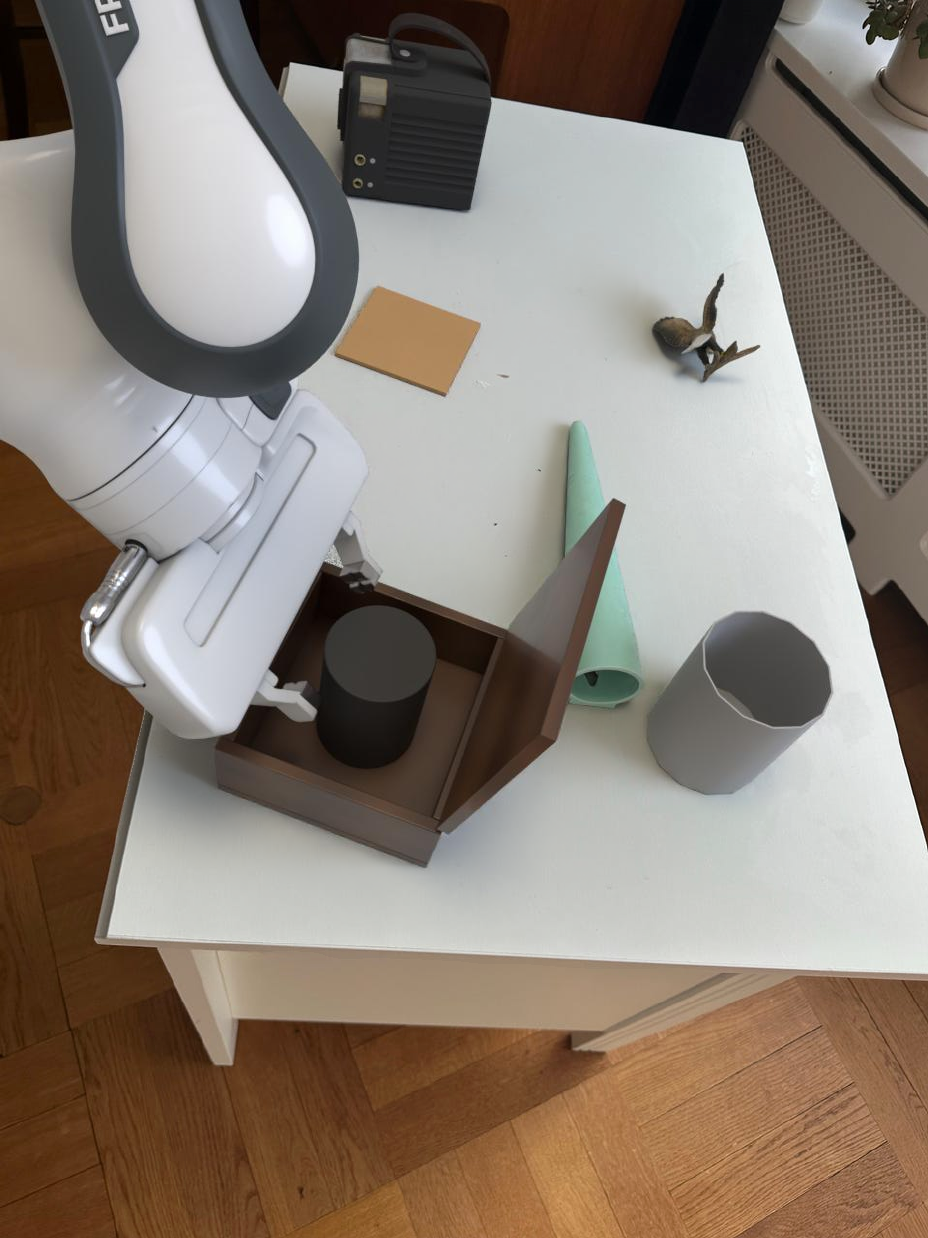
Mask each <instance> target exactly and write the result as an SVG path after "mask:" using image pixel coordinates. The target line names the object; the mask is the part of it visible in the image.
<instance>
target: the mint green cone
mask: <svg viewBox="0 0 928 1238" xmlns="http://www.w3.org/2000/svg"><path fill="white" fill-rule="evenodd" d="M568 438H569V440H568V458H567V459H568V460H567V463H568V464H567V487H566V513H565V515H566V517H565V542H564V544H565V545H564V546H565V547H564V557H565V556H566V555H567V554H568V553H569V551H570V550H571V549H572V548H573V547H574V545H575V544H576V543H577V542H578V540H579V539H580V538H581V537H582V535H583V534H584V533H585V532H586V531H587V529H588V528H589V527H590V526H591V524H592V523H593V522H594V521H595V519H596V518H597V517H598V516H599V515H600V513H601V512H602V511H603V510H604V508H605V507H606V504H605V499H604V495H603V491H602V487H601V483H600V479H599V474H598V470H597V466H596V461H595V458H594V453H593V449H592V446H591V445H592V444H591V441H590V438H589V434H588V431H587V427H586V424H585V423H584V422H583V421H582V420H574V421H573V422H572V423H571V425H570V427H569V437H568ZM627 595H628V594H627V591H626V587H625V583H624V579H623V575H622V571H621V566H620V562H619V557H618V554H617V550H616V545H614V548H613V551H612V555H611V558H610V562H609V565H608V568H607V572H606V575H605V579H604V582H603V585H602V589H601V592H600V595H599V599H598V602H597V606H596V609H595V612H594V616H593V619H592V623H591V626H590V629H589V633H588V636H587V640H586V643H585V646H584V650H583V653H582V657H581V660H580V663H579V667H578V670H577V673H576V677H575V680H574V684H573V687H572V690H571V694H570V697H569V701H568V703H569V704H573V705H580V706H591V707H599V708H608V709H609V708H611V709H613V708H615V707H616V706H617V705H618V704H622V703H625V702H628V701H630V700H633V699H635V698H636V697H638V696H639V695H640V694H641V693H642V692H643V691H644V689H645V678H644V673H643V667H642V662H641V657H640V651H639V645H638V640H637V635H636V634H637V633H636V629H635V626H634V622H633V621H634V620H633V618H632V613H631V609H630V605H629V600H628V596H627ZM590 672H595V673H596V675H597V680H596V681H595V684H594V685H591V684H589V681H588V678H587V677H586V675H585V674H587V673H590Z"/></svg>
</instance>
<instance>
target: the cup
mask: <svg viewBox="0 0 928 1238" xmlns="http://www.w3.org/2000/svg"><path fill="white" fill-rule="evenodd" d="M831 671H832V670H831V666H830V664H829V662H828V661H827V659H826V657H825V656H824V654H823V652H822V651H821V649H820V648H819V646H818V644H817V643H816V641H815V640H814V639H812V638H811V637H810V636H809V635H808V634H807V633H805V632H804V631H803V630H802V629H800V628H799V627H798V626H797V625H796V624H794V622H792V621H791V620H788V619H786V618H782V617H780V616H777V615H775V614H772V613H770V612H768V611H764V610H734V611H733V612H730V613H729V614H726V615H724V616H722V617H721V618H719V619H716V620H715V621H713V622H712V624H711V625H710V627H709V628H708V629H707V631H706V632H705V634H704V635H703V636H702V638H701V639H700V640H699V641H698V643H697V644H696V646H695V647H694V648H693V650H692V651H691V652H690V654H689V655H688V656H687V658H686V659H685V661H684V662H683V663H682V665H681V666H680V667H679V669H678V670H677V672H676V673H675V674H674V675H673V677H672V678H671V679H670V681H668V683H667V685H666V686H665V687H664V689H663V690H662V691H661V693H660V695H659V696H657V699H656V701H655V702H654V704H653V705H652V707H651V709H650V711H649V713H648V715H647V716H646V717H647V718H646V719H647V721H646V723H647V725H646V726H647V729H646V731H647V735H646V737H647V738H646V739H647V743H648V744H649V747H650V749H651V751H652V753H653V755H654V757H655V760H656V762H657V763H658V766H660V768H661V769H663V770H664V771H665V772H666V773H667V774H668V775H669V776H670V777H672V778H673V779H674V780H675V781H676V782H677V783H678V784H679V785H681V786H683V787H686V788H688V789H691V790H693V791H695V792H698V793H701V794H704V795H707V796H712V795H730V794H731V795H732V794H734V793H736V792H737V791H739V790H741V789H742V788H744V787H745V786H747V785H749V784H750V783H752V782H753V781H754V780H755V779H756V778H758V776H760V775H761V774H762V773H763V772H765V770H766V769H767V768H768V767H770V765H771V764H773V762H775V761H776V760H777V759H778V758H779V757H780V756H781V755H782V754H783V753H785V752H786V751H787V750H788V749H789V748H790V747H791V746H792V745H793V744H795V742H796V741H798V739H799V738H801V737H802V736H803V735H804V734H805V733H806V732H807V731H808V730H810V729H811V728H812V726H814V725H815V724H816V723H817V722H818V721H819V720H820V719H821V718H822V717H823V716H824V715H825V713H826V711H827V709H828V707H829V705H830V702H831V700H832V698H833V696H834V686H833V679H832V672H831Z"/></svg>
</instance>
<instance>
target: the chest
mask: <svg viewBox="0 0 928 1238" xmlns="http://www.w3.org/2000/svg"><path fill="white" fill-rule="evenodd" d="M342 568H343V567H340V566H338V565H335V564H333V563H330V562H327V561H325V560H324V562H323V564H322V566H321V568H320V570H319V572H318V574H317V575H316V577H315V579H314V581H313V583H312V585H311V587H310V589H309V591H308V593H307V595H306V597H305V599H304V601H303V603H302V604H301V606H300V608H299V610H298V612H297V614H296V616H295V618H294V620H293V622H292V624H291V626H290V628H289V630H288V631H287V633H286V635H285V637H284V639H283V641H282V643H281V645H280V647H279V649H278V651H277V653H276V655H275V657H274V658H273V660H272V662H271V664H270V666H269V668H268V669H269V670H270V671H271V672H272V673H273V674H274V675H275V676H277V677H278V682H277V684H276V686H273V687H274V688H276V689H283V687H284V685H285V684H286V683H294V684H296V683H297V682H300V681H308V682H309V683H310V684H311V685H312V686H313V687H314V688H315V691H316V692H319V689H320V680H321V671H322V661H323V652H324V644H325V640H326V637H327V634H328V632H329V631H330V629H331V627H332V626H333V625H334V624H335V622H336V621H338V620H339V619H340V618H341V617H342V616H344V615H345V614H347V613H349V612H350V611H352V610H355V609H358V608H361V607H365V606H376V605H380V606H389V607H393V608H397V609H400V610H402V611H404V612H407V613H408V614H410V615H412V616H413V617H415V618H416V619H417V620H419V621H420V622H421V623H422V624H423V625H424V627H425V628H426V629H427V630H428V632H429V633H430V635H431V637H432V639H433V641H434V644H435V648H436V666H435V670H434V673H433V676H432V680H431V683H430V686H429V689H428V693H427V696H426V699H425V702H424V706H423V709H422V712H421V715H420V719H419V722H418V725H417V728H416V732H415V735H414V738H413V741H412V743H411V745H410V746H409V748H408V749H407V751H406V752H405V753H404V754H403V755H402V756H401V757H400V758H398V759H397V760H395V761H394V762H392V763H390V764H388V765H385V766H382V767H377V768H358V767H353V766H350V765H347V764H345V763H343V762H341V761H339V760H338V759H336V758H335V757H334V756H332V755H331V754H330V753H329V752H328V751H327V750H326V748H325V747H324V746H323V744H322V742H321V740H320V738H319V735H318V732H317V727H316V718H317V713H316V716H315V718H314V720H313V721H308V722H297V721H294V720H292V719H290V718H289V717H288V716H287V715H286V714H284V713H283V712H282V711H281V710H280V709H279V708H277V707H276V706H262V705H252V704H250V705H249V707H248V709H247V711H246V713H245V715H244V716H243V718H242V720H241V722H240V724H239V726H238V727H237V729H236V730H235V731H233V732H232V733H229V734H225V735H221V736H219V737H218V740H217V742H216V743H215V746H214V747H213V751H214V761H215V770H216V772H215V773H216V782H217V789H218V790H222V791H224V792H227V793H229V794H232V795H234V796H237V797H239V798H243V799H245V800H247V801H250V802H252V803H255V804H258V805H260V806H263V807H266V808H269V809H271V810H273V811H276V812H278V813H282V814H284V815H286V816H289V817H291V818H294V819H297V820H299V821H302V822H305V823H307V824H310V825H313V826H315V827H318V828H321V829H323V830H326V831H328V832H330V833H333V834H335V835H339V836H341V837H344V838H346V839H349V840H352V841H354V842H357V843H360V844H362V845H365V846H367V847H370V848H373V849H375V850H378V851H381V852H383V853H386V854H388V855H391V856H393V857H396V858H399V859H402V860H404V861H407V862H410V863H412V864H414V865H417V866H419V867H422V868H424V869H425V868H428V865H429V863H430V861H431V859H432V857H433V854H434V852H435V850H436V847H437V845H438V843H439V841H440V839H441V837H442V834H443V832H442V831H440V830H437V826H438V823H439V820H440V818H441V815H442V812H443V809H444V806H445V804H446V801H447V798H448V795H449V792H450V790H451V787H452V784H453V781H454V779H455V776H456V773H457V770H458V767H459V765H460V762H461V759H462V756H463V753H464V751H465V748H466V745H467V742H468V739H469V737H470V734H471V731H472V728H473V726H474V723H475V720H476V717H477V714H478V712H479V709H480V706H481V703H482V700H483V698H484V695H485V692H486V689H487V686H488V684H489V681H490V678H491V675H492V673H493V670H494V667H495V664H496V661H497V659H498V656H499V653H500V650H501V647H502V645H503V642H504V639H505V636H506V633H507V631H508V629H506V628H503V627H501V626H498V625H495V624H493V623H490V622H488V621H484V620H483V619H480V618H477V617H474V616H472V615H468V614H466V613H463V612H460V611H458V610H456V609H453V608H450V607H447V606H445V605H442V604H441V603H436V602H434V601H431V600H428V599H426V598H424V597H421V596H418V595H416V594H413V593H410V592H407V591H405V590H402V589H399V588H396V587H394V586H391V585H388V584H385V583H383V582H380V581H378V583H377V585H376V587H375V589H374V591H370V592H369V591H366V592H365V593H357V592H355V591H353V590H352V589H351V588H350V586H349V583H345V582H344V581H343V580H342V579H341V578H340V577H339V575H340V573H341V571H342Z"/></svg>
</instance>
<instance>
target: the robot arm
mask: <svg viewBox="0 0 928 1238" xmlns="http://www.w3.org/2000/svg"><path fill="white" fill-rule="evenodd" d="M34 2H35V4H36V8H37V10H38V14H39V16H40V18H41V22H42V24H43V27H44V30H45V33H46V35H47V38H48V41H49V43H50V46H51V47H50V48H51V50H52V53H53V57H54V58H55V62H56V65H57V69H58V71H59V75H60V78H61V82H62V86H63V89H64V93H65V97H66V101H67V105H68V110H69V115H70V120H71V121H70V122H71V126H72V127H71V129H68V130H63V131H58V132H54V133H50V134H44V135H40V136H39V135H38V136H31V137H25V138H18V139H17V138H16V139H10V140H0V440H1V441H2V442H5V443H7V444H8V445H11V446H12V447H14V448H16V449H17V450H18V451H20V452H21V453H23V454H24V455H25V456H26V457H27V458H29V459H30V460H31V461H32V462H33V463H34V465H36V467H37V468H38V469H39V470H40V472H41V473H42V474H43V476H44V477H45V479H46V480H47V482H48V484H49V485H50V487H51V489H53V491H54V492H55V493H56V494H57V496H58V497H60V498H61V499H62V500H63V501H64V502H65V503H66V504H67V505H69V506H70V507H71V508H72V509H73V510H74V511H75V512H76V513H78V514H79V515H80V516H81V517H82V518H83V519H85V520H86V521H87V522H88V523H90V525H91V526H92V527H94V528H95V529H96V530H97V531H98V532H100V534H101V535H102V536H103V537H104V538H106V539H107V540H108V541H109V542H110V543H112V545H114V546H115V547H116V548H118V549H119V550H120V551H119V554H118V555H117V556H116V558H115V559H114V561H113V562H112V564H111V565H110V567H109V568H108V570H107V573H106V574H105V577H104V579H103V580H102V582H101V583H100V586H98V588H97V590H96V591H94V592H92V594H91V595H90V596H88V597H89V598H88V599H87V600H86V602H85V603H84V605H83V606H82V609H81V612H80V615H79V618H80V620H81V621H82V627H81V632H80V642H81V644H80V645H81V647H82V655H83V657H84V658H85V659H86V661H87V663H89V664H90V665H91V666H92V667H94V669H96V671H99V672H100V673H101V674H102V675H103V676H104V677H106V678H107V679H109V680H110V681H111V682H113V683H115V684H117V685H118V686H120V687H123V688H125V689H126V690H127V691H128V692H129V693H130V694H131V696H132V697H133V698H134V699H135V700H136V701H137V702H138V703H139V704H140V705H141V706H142V708H144V710H146V711H147V712H148V713H149V714H150V715H151V716H152V717H153V718H154V719H156V720H157V722H159V723H160V724H161V725H162V726H164V728H166V729H167V730H168V731H169V732H171V733H172V734H173V735H175V736H176V737H179V738H181V739H187V740H199V739H200V740H201V739H208V738H209V739H210V738H216V737H221V735H225V734H229V733H232V732H233V731H235V730H236V729H237V727H238V726H239V724H240V722H241V720H242V718H243V716H244V715H245V713H246V711H247V709H248V707H249V705H250V704H252V705H262V706H276V707H277V708H279V709H280V710H281V711H282V712H283V713H284V714H286V715H287V716H288V717H289V718H290V719H292V720H294V721H297V722H308V721H313V720H314V718H315V716H316V713H317V712H318V710H319V707H320V705H321V703H322V701H323V695H322V694H321V693H320V692H316V691H315V688H314V687H313V686H312V685H311V684H310V683H309V682H308V681H300V682H297V683H296V684H294V683H286V684H285V685H284V687H283V689H276V688H274V687H273V686H276V684H277V682H278V677H277V676H275V675H274V674H273V673H272V672H271V671H270V670H269V669H268V668H269V666H270V664H271V662H272V660H273V658H274V657H275V655H276V653H277V651H278V649H279V647H280V645H281V643H282V641H283V639H284V637H285V635H286V633H287V631H288V630H289V628H290V626H291V624H292V622H293V620H294V618H295V616H296V614H297V612H298V610H299V608H300V606H301V604H302V603H303V601H304V599H305V597H306V595H307V593H308V591H309V589H310V587H311V585H312V583H313V581H314V579H315V577H316V575H317V574H318V572H319V570H320V568H321V566H322V564H323V562H324V561H325V560H326V558H327V556H328V554H329V552H330V550H331V549H332V547H333V546H334V548H335V551H336V553H337V555H338V557H339V560H340V562H341V564H342V567H341V568H342V571H341V573H340V575H339V577H340V578H341V579H342V580H343V581H344V582H345V583H349V586H350V588H351V589H352V590H353V591H355V592H357V593H365V592H366V591H369V592H370V591H374V589H375V587H376V585H377V583H378V582H379V580H380V579H381V576H382V575H383V572H384V570H383V567H382V566H381V565H380V564H379V563H378V562H377V561H376V560H375V559H374V558H373V557H372V556H371V554H370V553H369V552H370V551H369V547H368V544H367V540H366V537H365V534H364V533H365V532H364V530H363V527H362V523H361V520H360V519H359V518H358V517H357V516H356V514H355V513H354V512H353V511H352V508H353V506H354V504H355V503H356V500H357V498H358V496H359V495H360V492H361V490H362V489H363V487H364V485H365V483H366V481H367V479H368V477H369V474H370V469H369V468H370V467H369V463H368V458H367V455H366V452H365V449H364V448H363V445H361V443H360V442H359V441H358V439H357V438H356V437H355V436H354V434H353V433H352V431H351V430H350V429H349V428H348V427H347V425H346V424H345V423H344V422H343V421H342V420H341V419H340V418H339V416H338V415H336V413H335V412H334V411H333V410H332V409H331V408H330V407H329V406H328V405H327V404H326V403H325V402H324V400H322V399H321V398H320V397H319V396H317V395H316V394H315V393H313V392H312V391H310V390H308V389H307V390H306V389H304V388H302V389H301V388H299V386H300V378H299V376H301V375H302V374H304V373H305V372H306V371H308V370H309V369H310V368H311V367H313V365H314V364H316V363H317V362H318V361H319V360H320V359H321V358H322V357H323V356H324V354H326V353H327V351H328V350H329V349H330V348H331V346H332V345H333V343H334V342H335V340H337V338H338V336H339V334H340V333H341V331H342V329H343V327H344V326H345V324H346V321H347V319H348V316H349V314H350V312H351V309H352V306H353V303H354V299H355V297H356V293H357V287H358V281H359V272H360V248H359V239H358V232H357V227H356V223H355V222H356V221H355V219H354V216H353V213H352V209H351V207H350V204H349V200H348V198H347V197H346V194H345V193H344V192H343V190H342V184H340V182H339V180H338V178H337V176H336V173H334V171H333V169H332V168H331V166H330V165H329V163H328V162H327V160H326V158H325V157H324V155H323V154H322V153H321V151H320V150H319V148H318V147H317V145H316V144H315V142H314V141H313V140H312V139H311V138H310V136H309V135H308V133H307V132H306V130H305V129H304V128H303V126H302V125H301V124H300V122H299V121H298V120H297V118H296V117H295V115H294V114H293V113H292V112H291V109H290V108H289V107H288V105H287V104H286V102H285V101H284V100H283V97H282V96H281V95H280V93H279V92H278V90H277V88H276V87H275V84H274V83H273V81H272V79H271V78H270V76H269V74H268V72H267V70H266V68H265V66H264V64H263V62H262V59H261V58H260V56H259V52H258V51H257V48H256V46H255V44H254V41H253V39H252V35H251V32H250V30H249V28H248V25H247V22H246V19H245V16H244V13H243V8H242V5H241V2H240V0H34ZM93 628H95V629H94V631H93V632H92V630H93Z"/></svg>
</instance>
